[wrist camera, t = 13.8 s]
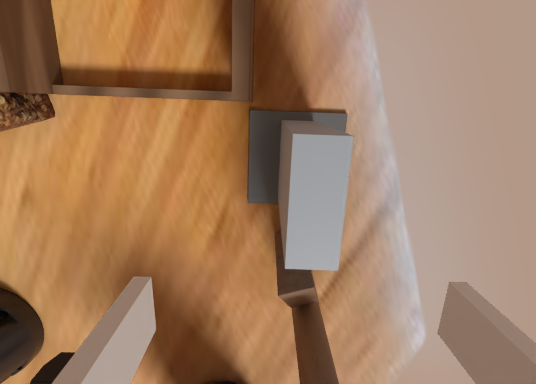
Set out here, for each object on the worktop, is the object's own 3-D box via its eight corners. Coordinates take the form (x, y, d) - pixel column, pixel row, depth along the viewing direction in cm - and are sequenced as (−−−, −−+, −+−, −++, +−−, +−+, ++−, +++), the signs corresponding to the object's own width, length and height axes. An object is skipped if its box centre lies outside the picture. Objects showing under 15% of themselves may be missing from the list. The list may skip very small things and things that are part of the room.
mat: (248, 201, 40) (248, 202, 40) (250, 109, 37) (249, 109, 36) (336, 204, 40) (337, 205, 40) (346, 113, 37) (347, 113, 36)
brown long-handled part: (299, 226, 41) (321, 314, 24) (316, 290, 44) (346, 410, 27) (273, 232, 41) (277, 323, 24) (292, 296, 44) (307, 418, 27)
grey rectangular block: (281, 119, 37) (292, 133, 19) (313, 121, 37) (353, 136, 19) (277, 196, 40) (284, 268, 22) (307, 197, 40) (337, 270, 22)
